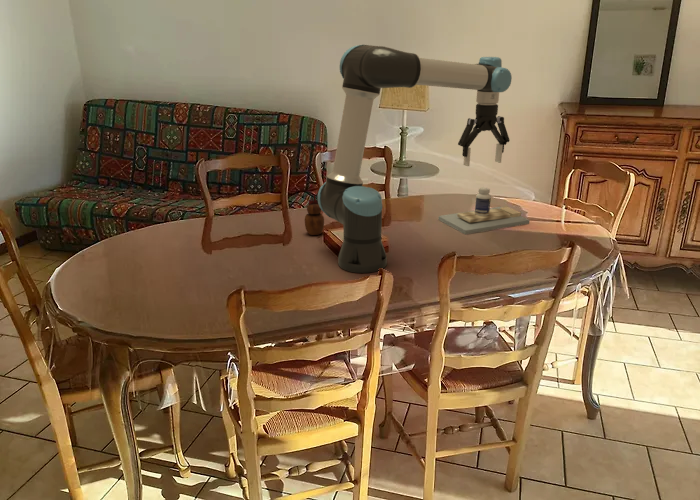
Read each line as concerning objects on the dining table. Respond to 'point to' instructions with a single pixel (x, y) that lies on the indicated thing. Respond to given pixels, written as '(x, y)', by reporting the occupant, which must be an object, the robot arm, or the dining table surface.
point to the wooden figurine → (314, 218)
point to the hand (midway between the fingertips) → (482, 163)
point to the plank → (476, 218)
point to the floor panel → (484, 222)
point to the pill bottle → (483, 202)
